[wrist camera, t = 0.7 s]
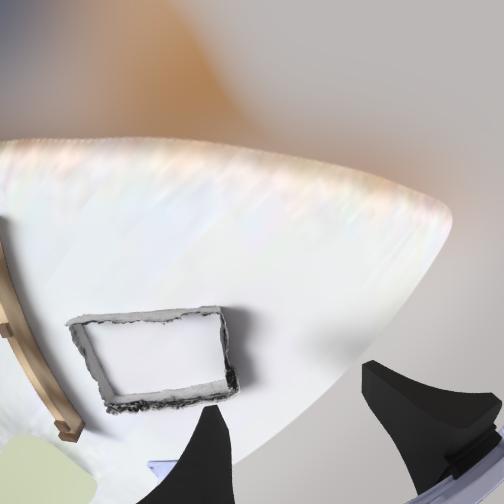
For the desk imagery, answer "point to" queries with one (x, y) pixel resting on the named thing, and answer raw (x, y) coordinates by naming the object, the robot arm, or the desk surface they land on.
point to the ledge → (34, 359)
